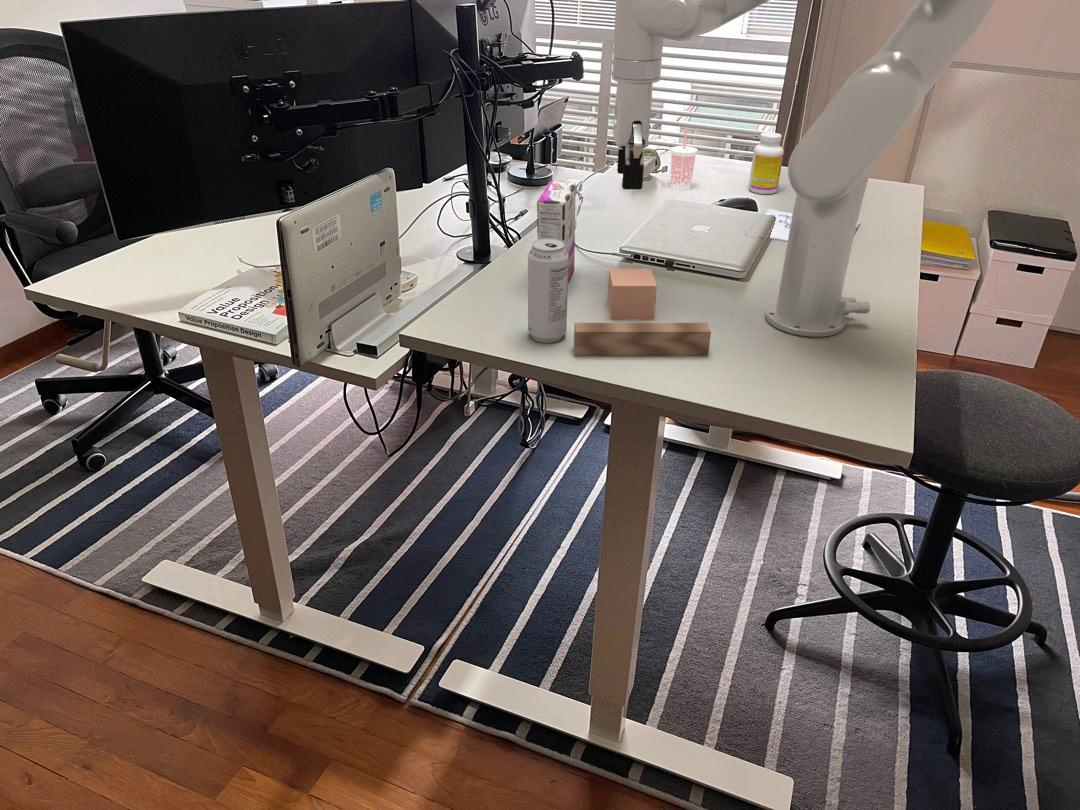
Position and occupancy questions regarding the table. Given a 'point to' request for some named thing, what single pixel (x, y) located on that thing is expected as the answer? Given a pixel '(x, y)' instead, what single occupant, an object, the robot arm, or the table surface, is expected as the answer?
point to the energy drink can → (547, 290)
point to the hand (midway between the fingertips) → (629, 180)
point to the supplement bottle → (766, 164)
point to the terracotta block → (631, 294)
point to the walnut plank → (641, 339)
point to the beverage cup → (682, 166)
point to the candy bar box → (558, 216)
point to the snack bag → (782, 225)
